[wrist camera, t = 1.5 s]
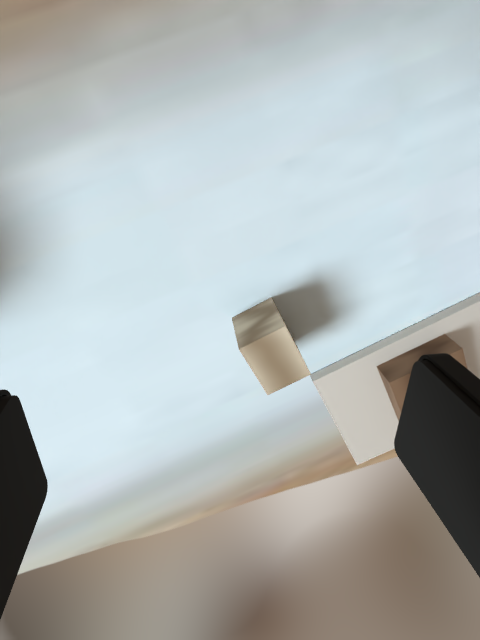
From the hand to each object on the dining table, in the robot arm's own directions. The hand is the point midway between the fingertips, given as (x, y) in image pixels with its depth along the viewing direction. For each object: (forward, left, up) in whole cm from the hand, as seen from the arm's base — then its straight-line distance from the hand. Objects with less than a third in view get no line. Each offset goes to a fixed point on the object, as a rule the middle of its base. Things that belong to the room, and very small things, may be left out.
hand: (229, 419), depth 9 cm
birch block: (0, +14, -26) cm, 30 cm away
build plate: (-13, +30, -26) cm, 42 cm away
